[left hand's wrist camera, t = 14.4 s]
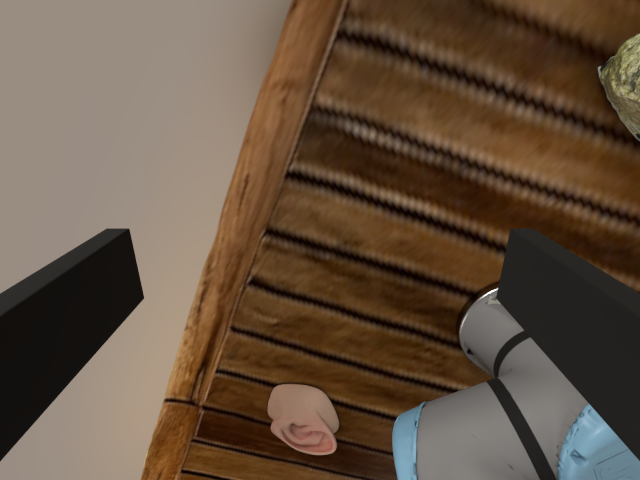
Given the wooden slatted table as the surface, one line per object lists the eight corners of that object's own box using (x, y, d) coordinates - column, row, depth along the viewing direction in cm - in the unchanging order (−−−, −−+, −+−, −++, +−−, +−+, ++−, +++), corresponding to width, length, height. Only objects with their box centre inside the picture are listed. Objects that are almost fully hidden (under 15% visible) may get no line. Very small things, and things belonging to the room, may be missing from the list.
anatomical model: (255, 406, 54) (329, 396, 54) (259, 387, 58) (328, 377, 57) (275, 465, 59) (343, 456, 58) (278, 443, 63) (341, 434, 62)
